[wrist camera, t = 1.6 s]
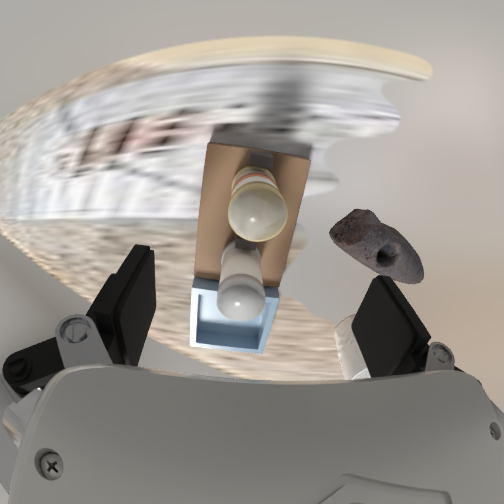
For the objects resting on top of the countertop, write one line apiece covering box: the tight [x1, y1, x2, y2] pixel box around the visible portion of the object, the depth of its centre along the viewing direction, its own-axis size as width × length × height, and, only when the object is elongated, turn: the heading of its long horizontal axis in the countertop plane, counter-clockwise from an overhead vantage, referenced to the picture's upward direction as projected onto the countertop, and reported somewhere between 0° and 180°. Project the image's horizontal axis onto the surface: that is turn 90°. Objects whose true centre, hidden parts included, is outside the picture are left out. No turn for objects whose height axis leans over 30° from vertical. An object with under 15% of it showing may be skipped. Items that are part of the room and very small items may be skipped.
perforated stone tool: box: [329, 209, 424, 284], centre depth 28 cm, size 15×5×7 cm, turn 59°
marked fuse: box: [228, 165, 288, 242], centre depth 22 cm, size 4×4×8 cm
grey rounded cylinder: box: [216, 240, 266, 321], centre depth 26 cm, size 4×4×8 cm
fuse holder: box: [194, 142, 311, 287], centre depth 27 cm, size 10×15×4 cm, turn 170°
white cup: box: [334, 314, 371, 380], centre depth 34 cm, size 8×8×10 cm
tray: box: [190, 277, 279, 354], centre depth 34 cm, size 10×10×3 cm
